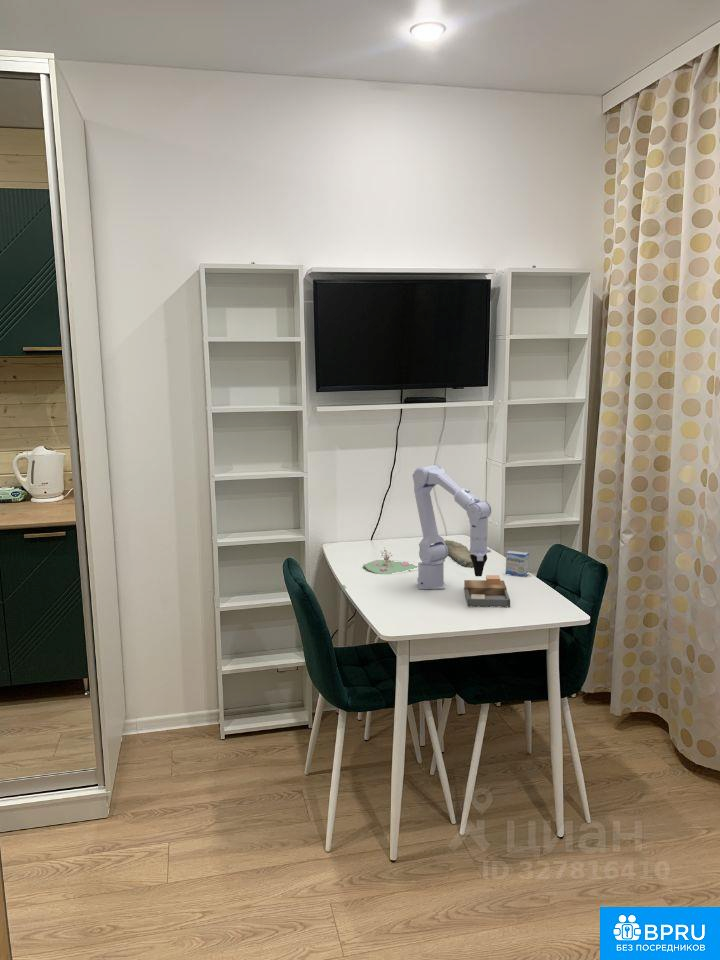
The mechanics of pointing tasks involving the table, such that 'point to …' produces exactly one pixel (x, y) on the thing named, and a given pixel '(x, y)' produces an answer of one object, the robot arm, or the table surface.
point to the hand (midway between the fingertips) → (478, 575)
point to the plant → (388, 566)
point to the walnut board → (484, 587)
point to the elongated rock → (459, 553)
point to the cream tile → (477, 596)
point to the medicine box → (517, 563)
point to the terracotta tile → (492, 579)
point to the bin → (489, 600)
